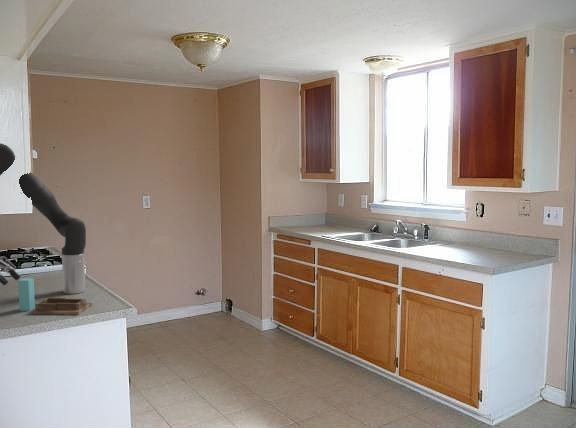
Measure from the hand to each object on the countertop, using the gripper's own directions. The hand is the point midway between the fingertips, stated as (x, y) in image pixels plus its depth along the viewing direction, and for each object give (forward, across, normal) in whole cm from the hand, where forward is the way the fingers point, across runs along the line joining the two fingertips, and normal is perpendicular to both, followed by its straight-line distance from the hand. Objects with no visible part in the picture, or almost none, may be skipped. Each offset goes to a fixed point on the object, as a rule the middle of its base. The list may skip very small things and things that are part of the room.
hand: (12, 281), depth 203 cm
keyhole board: (+22, 0, -6) cm, 22 cm away
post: (+12, 0, +4) cm, 12 cm away
